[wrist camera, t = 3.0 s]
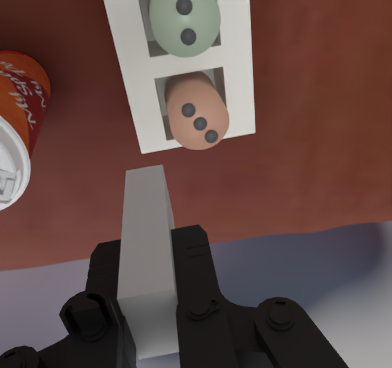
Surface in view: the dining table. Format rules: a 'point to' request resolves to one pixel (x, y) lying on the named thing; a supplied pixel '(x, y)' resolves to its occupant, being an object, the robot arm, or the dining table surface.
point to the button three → (195, 110)
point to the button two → (184, 25)
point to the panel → (182, 69)
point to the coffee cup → (19, 120)
